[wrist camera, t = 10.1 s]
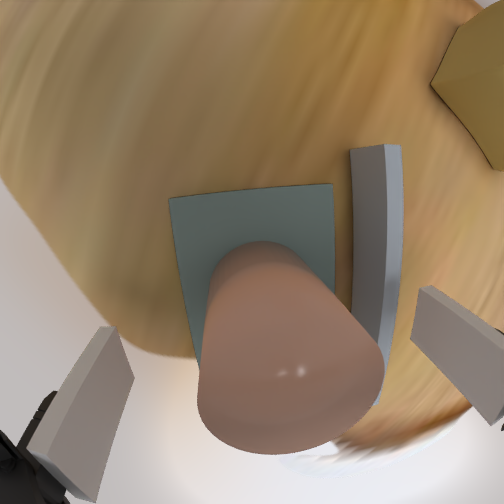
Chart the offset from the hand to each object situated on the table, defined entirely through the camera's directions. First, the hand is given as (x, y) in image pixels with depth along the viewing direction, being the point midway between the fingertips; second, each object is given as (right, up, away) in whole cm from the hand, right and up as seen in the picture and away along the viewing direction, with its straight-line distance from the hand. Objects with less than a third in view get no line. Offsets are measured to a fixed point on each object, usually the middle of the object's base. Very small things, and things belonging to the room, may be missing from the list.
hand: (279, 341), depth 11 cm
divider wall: (+6, +2, +7) cm, 9 cm away
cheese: (+18, +17, +4) cm, 25 cm away
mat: (-1, +1, +6) cm, 6 cm away
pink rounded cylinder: (-1, +1, +6) cm, 6 cm away
